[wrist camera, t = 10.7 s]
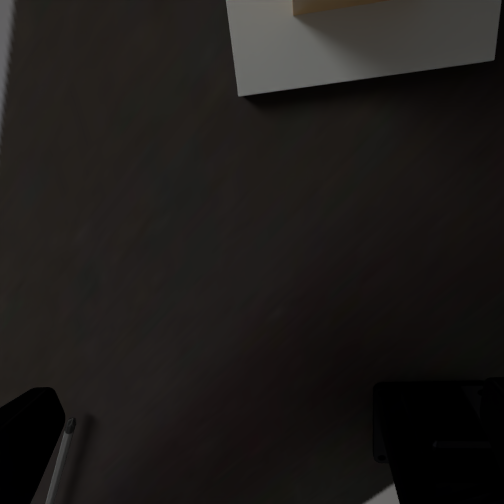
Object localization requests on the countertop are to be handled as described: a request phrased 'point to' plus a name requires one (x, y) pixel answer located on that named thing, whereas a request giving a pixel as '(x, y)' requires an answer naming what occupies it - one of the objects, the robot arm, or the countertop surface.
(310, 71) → the post plate
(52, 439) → the robot arm
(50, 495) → the screwdriver
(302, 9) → the cardboard carton
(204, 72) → the countertop surface
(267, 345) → the countertop surface
